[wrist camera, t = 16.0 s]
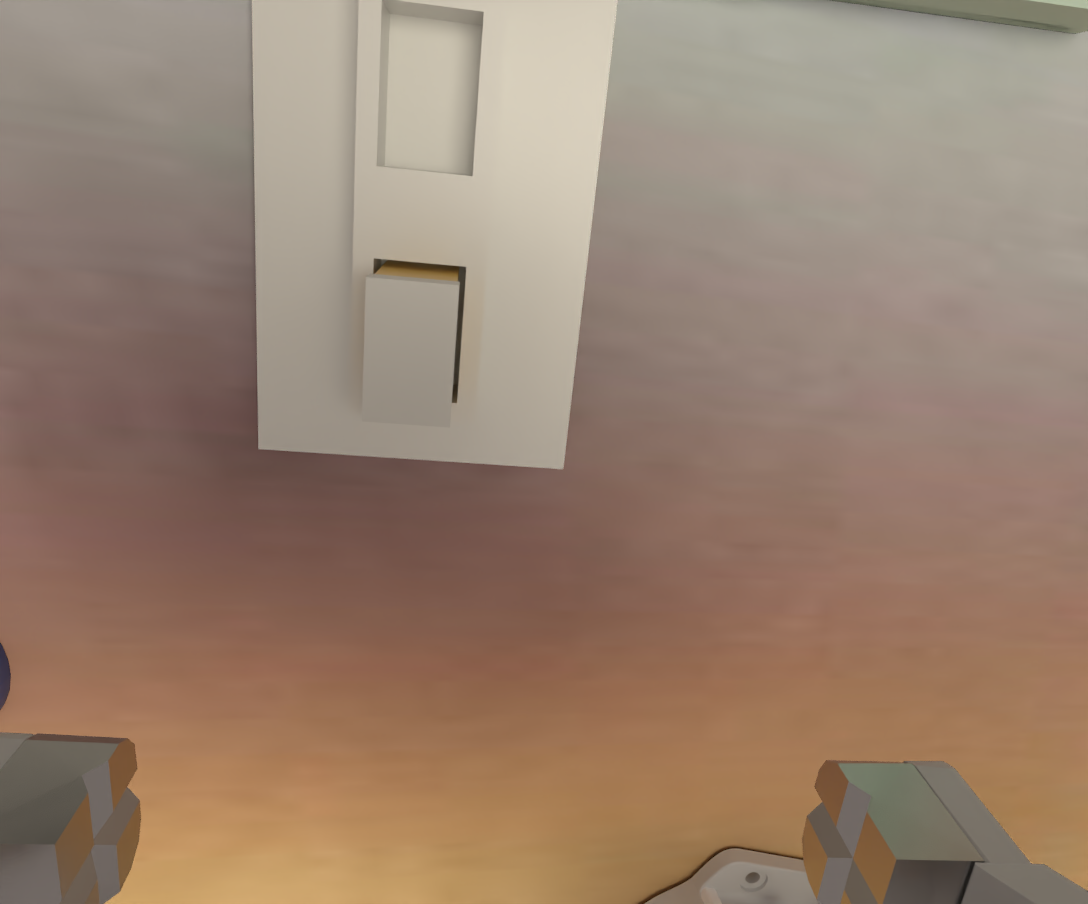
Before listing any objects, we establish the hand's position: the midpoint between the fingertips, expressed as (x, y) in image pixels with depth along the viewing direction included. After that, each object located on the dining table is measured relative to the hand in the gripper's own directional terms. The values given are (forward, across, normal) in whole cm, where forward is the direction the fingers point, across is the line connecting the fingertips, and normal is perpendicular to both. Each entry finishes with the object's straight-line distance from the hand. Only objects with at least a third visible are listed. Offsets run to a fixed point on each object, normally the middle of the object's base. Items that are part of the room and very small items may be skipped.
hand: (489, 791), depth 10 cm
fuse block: (+29, +3, -5) cm, 29 cm away
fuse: (+28, +3, -1) cm, 28 cm away
